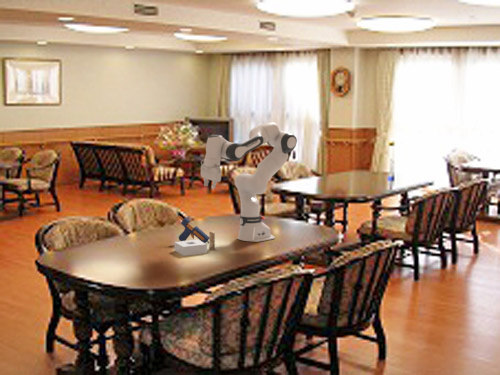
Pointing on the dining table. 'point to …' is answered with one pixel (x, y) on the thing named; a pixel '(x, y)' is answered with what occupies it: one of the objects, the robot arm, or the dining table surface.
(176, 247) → the hole block
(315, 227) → the dining table surface
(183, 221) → the glue gun
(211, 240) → the peg
